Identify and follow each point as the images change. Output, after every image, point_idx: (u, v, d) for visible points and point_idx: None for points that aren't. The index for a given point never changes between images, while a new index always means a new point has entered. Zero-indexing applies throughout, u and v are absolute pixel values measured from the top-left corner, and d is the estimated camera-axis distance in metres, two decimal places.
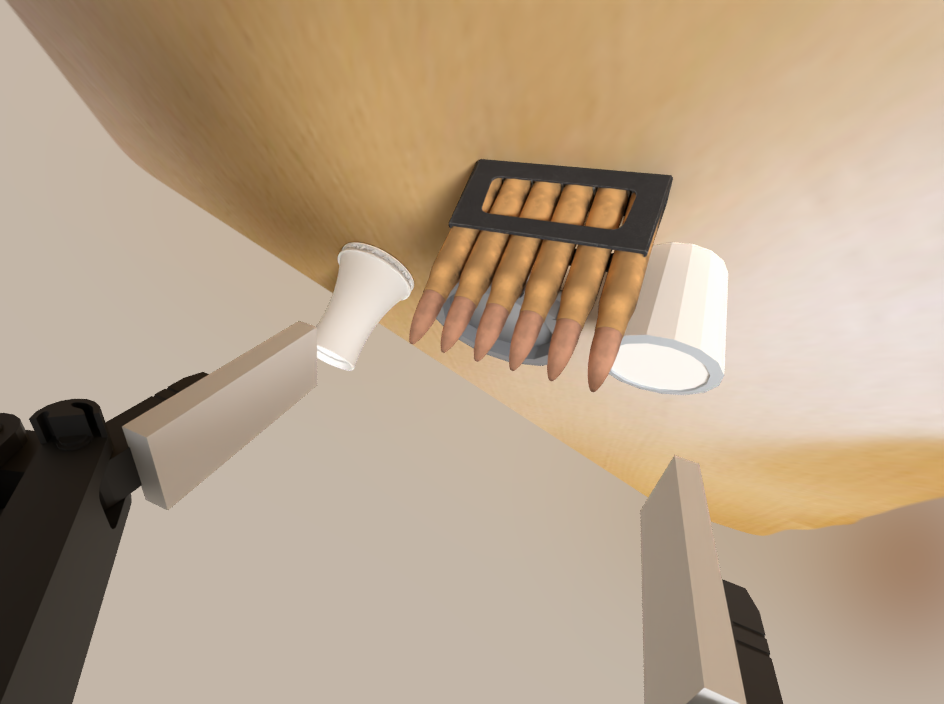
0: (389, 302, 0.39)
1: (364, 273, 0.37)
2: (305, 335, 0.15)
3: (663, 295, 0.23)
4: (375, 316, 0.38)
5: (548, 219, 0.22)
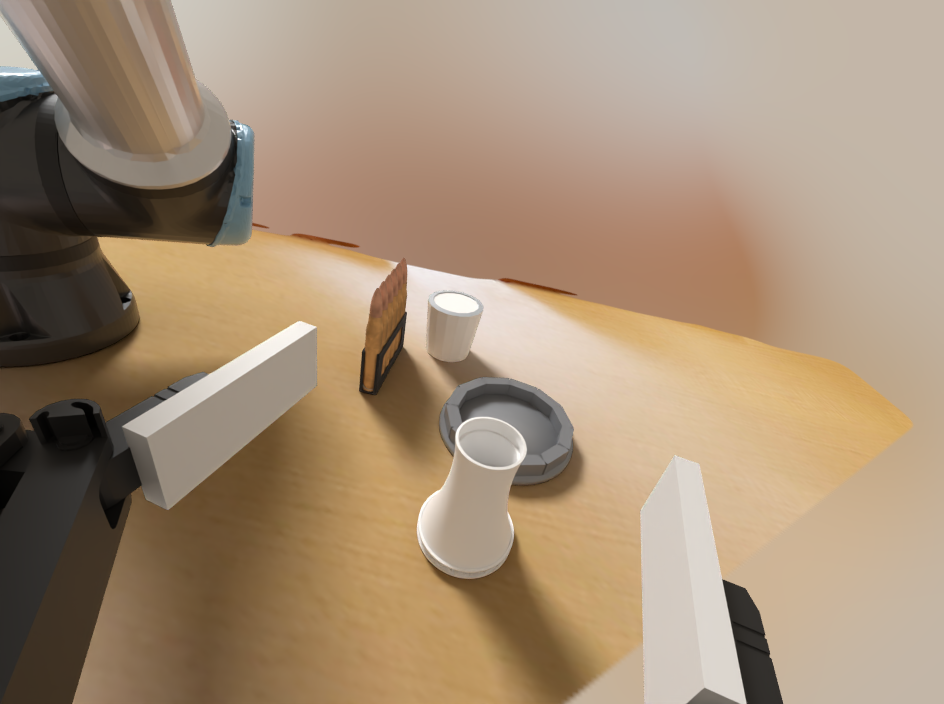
0: None
1: (438, 492, 0.33)
2: (305, 335, 0.15)
3: (427, 319, 0.53)
4: None
5: None
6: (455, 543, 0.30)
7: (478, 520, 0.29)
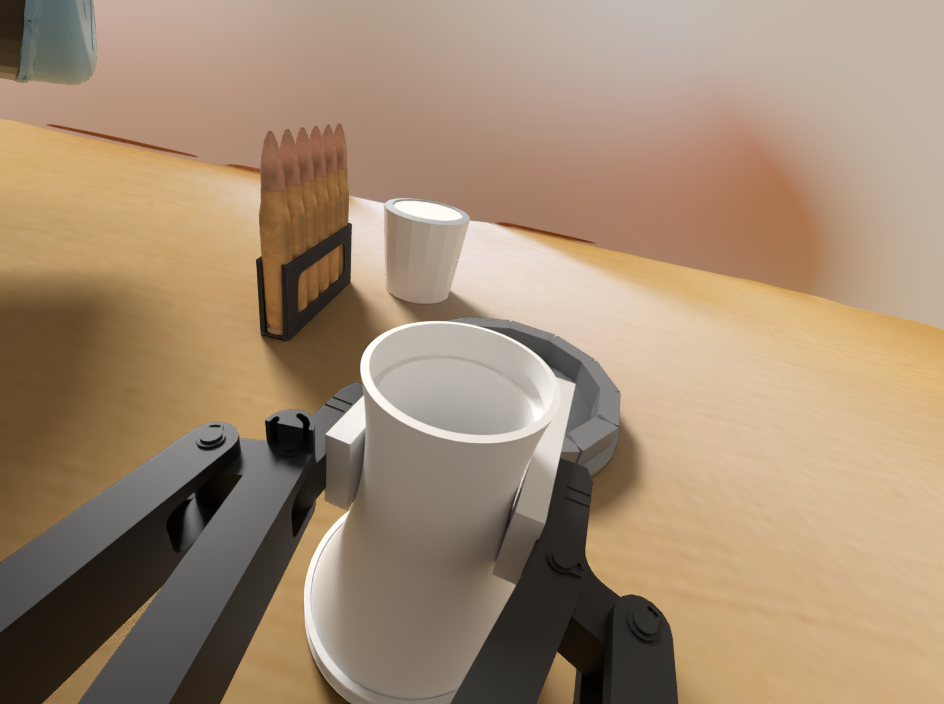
0: None
1: None
2: None
3: None
4: None
5: None
6: (377, 638, 0.12)
7: (432, 583, 0.11)
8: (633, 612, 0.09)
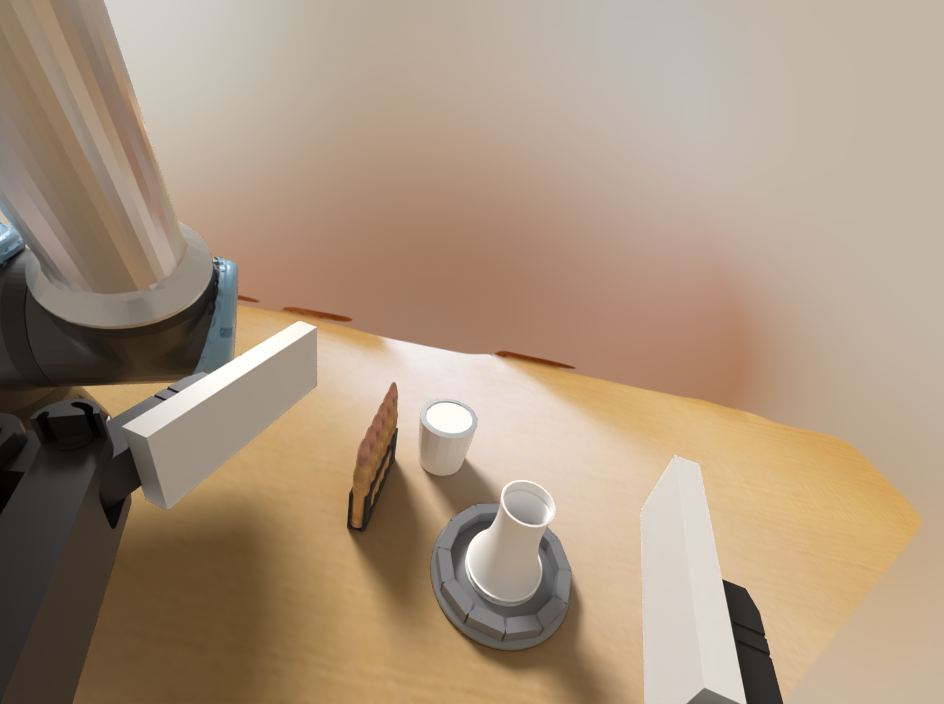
0: None
1: (481, 536, 0.42)
2: (305, 335, 0.15)
3: (419, 432, 0.51)
4: (515, 515, 0.41)
5: None
6: (499, 579, 0.38)
7: (517, 562, 0.38)
8: None
